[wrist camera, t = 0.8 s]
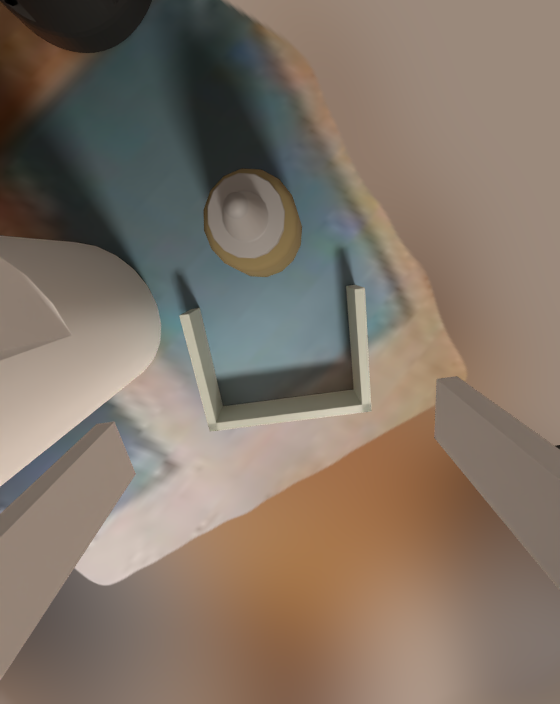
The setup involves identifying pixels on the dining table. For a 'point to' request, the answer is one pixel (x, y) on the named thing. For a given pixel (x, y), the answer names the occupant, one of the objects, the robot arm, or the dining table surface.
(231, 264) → the squeeze bottle
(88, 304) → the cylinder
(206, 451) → the dining table surface
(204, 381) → the cream u-shaped frame
